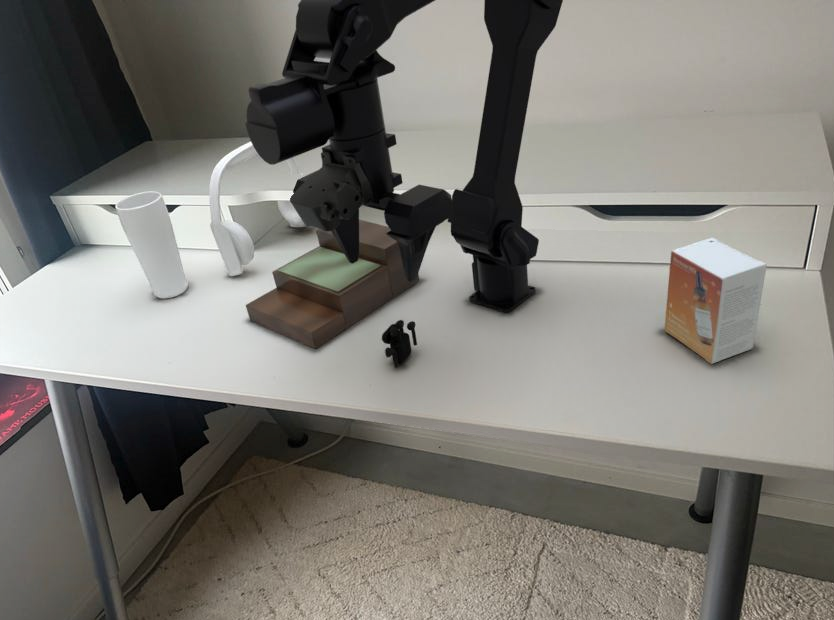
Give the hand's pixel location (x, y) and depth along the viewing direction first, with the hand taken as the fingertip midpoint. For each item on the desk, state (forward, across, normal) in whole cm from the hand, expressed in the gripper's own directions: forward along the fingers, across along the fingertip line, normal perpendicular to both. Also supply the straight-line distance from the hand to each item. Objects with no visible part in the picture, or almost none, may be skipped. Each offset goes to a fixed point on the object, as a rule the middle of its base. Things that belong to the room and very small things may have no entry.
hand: (382, 270), depth 80 cm
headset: (+12, -40, +12) cm, 43 cm away
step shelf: (+12, -18, +6) cm, 22 cm away
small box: (+12, +28, +21) cm, 37 cm away
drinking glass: (+12, -44, -6) cm, 46 cm away
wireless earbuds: (+12, 0, 0) cm, 12 cm away
